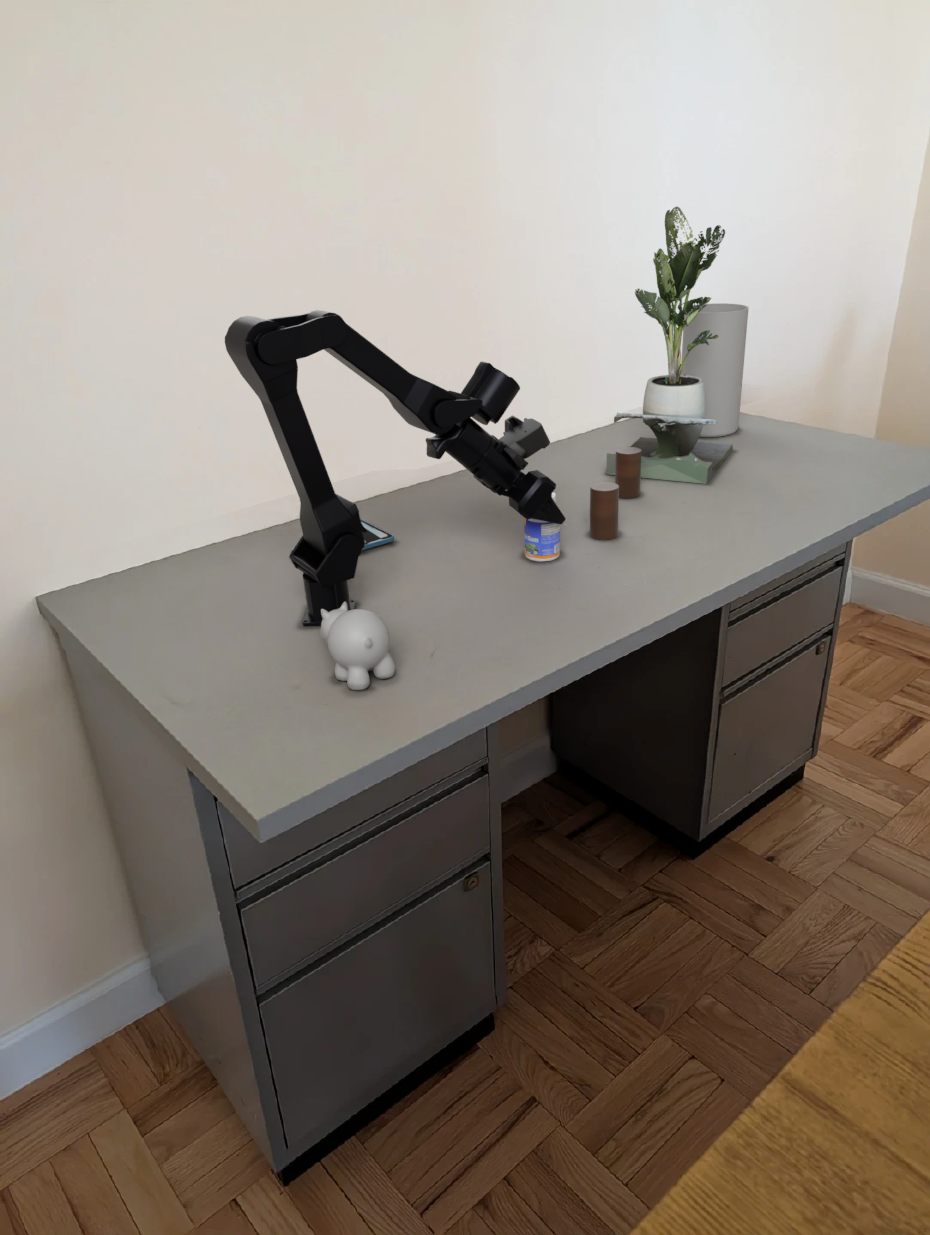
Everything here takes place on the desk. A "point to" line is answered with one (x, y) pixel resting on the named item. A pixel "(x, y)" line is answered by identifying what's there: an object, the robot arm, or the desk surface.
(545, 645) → the desk surface
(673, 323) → the potted plant
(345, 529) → the robot arm
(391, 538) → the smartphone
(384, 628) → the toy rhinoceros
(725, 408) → the cylinder vase
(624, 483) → the far peg
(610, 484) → the near peg
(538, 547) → the pill bottle
